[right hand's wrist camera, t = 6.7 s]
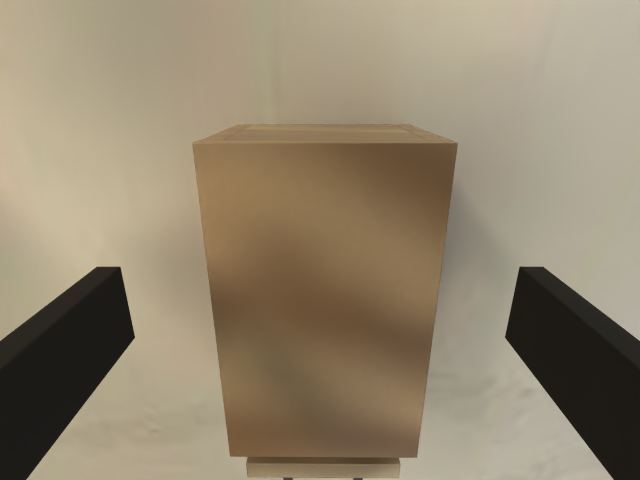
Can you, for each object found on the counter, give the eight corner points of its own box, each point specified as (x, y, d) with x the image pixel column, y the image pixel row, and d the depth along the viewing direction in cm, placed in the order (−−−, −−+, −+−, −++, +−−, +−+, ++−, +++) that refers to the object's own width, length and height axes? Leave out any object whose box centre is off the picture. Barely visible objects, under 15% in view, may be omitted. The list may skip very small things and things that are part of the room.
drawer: (378, 450, 32) (392, 538, 26) (267, 449, 32) (253, 537, 26) (398, 196, 24) (425, 234, 18) (249, 196, 24) (223, 233, 18)
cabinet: (391, 357, 30) (417, 457, 21) (255, 356, 30) (229, 456, 22) (410, 124, 23) (458, 142, 15) (237, 124, 23) (191, 142, 15)
